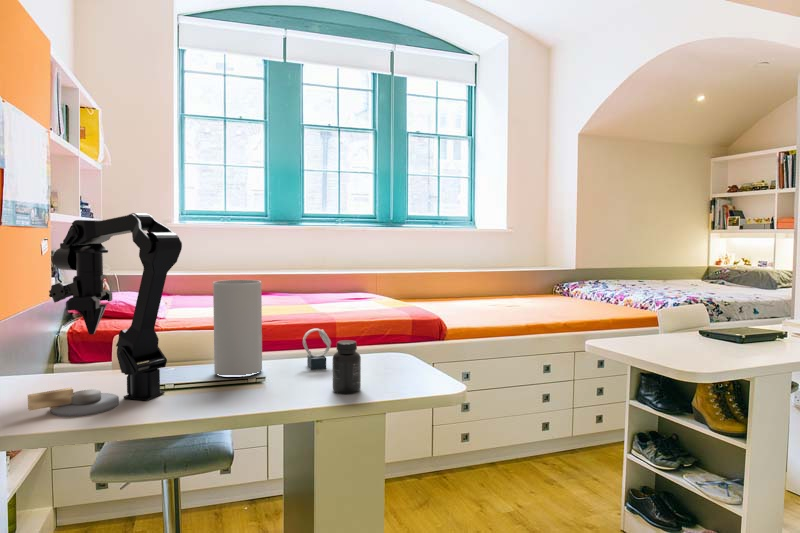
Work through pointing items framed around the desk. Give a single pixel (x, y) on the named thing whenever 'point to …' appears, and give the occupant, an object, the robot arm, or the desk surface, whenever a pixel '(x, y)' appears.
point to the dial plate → (87, 407)
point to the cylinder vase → (237, 327)
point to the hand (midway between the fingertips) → (91, 334)
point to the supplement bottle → (346, 368)
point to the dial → (62, 398)
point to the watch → (317, 359)
